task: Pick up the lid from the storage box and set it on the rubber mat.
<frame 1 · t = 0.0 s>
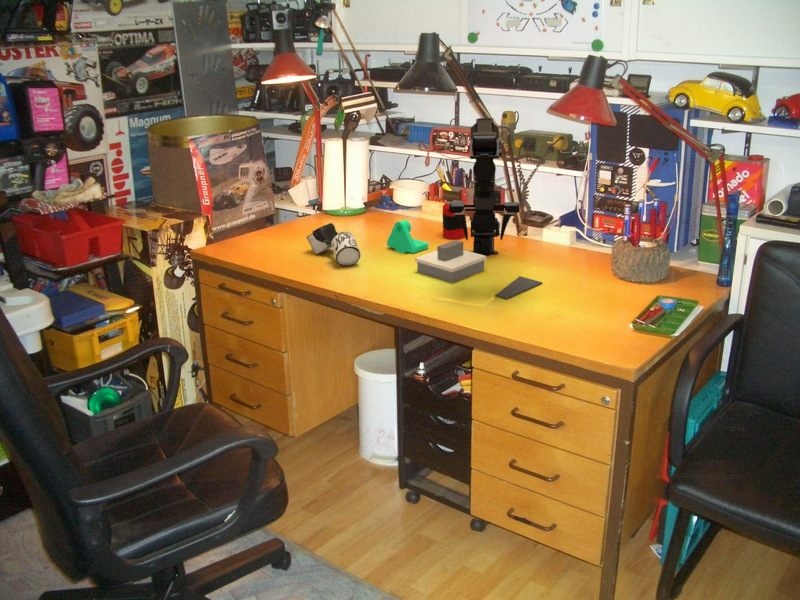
hand: (484, 240, 213), 15 cm above the table, tool pointing down, fingers open, 9 cm apart
camera mount: (408, 250, 258), on the table
walnut block: (450, 271, 235), point 1 cm above the table, touching storage box
lid: (450, 260, 234), point 4 cm above the table, touching storage box
storage box: (450, 272, 235), on the table
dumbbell: (335, 259, 252), on the table
soda can: (454, 237, 270), on the table
rubber mat: (502, 285, 224), on the table
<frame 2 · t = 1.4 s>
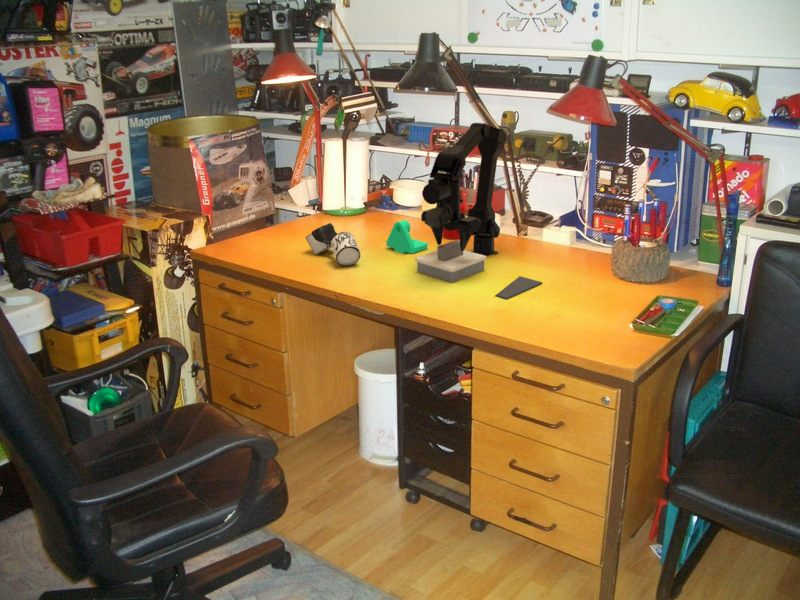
hand: (450, 247, 233), 8 cm above the table, tool pointing down, fingers open, 9 cm apart
nothing on the table moved.
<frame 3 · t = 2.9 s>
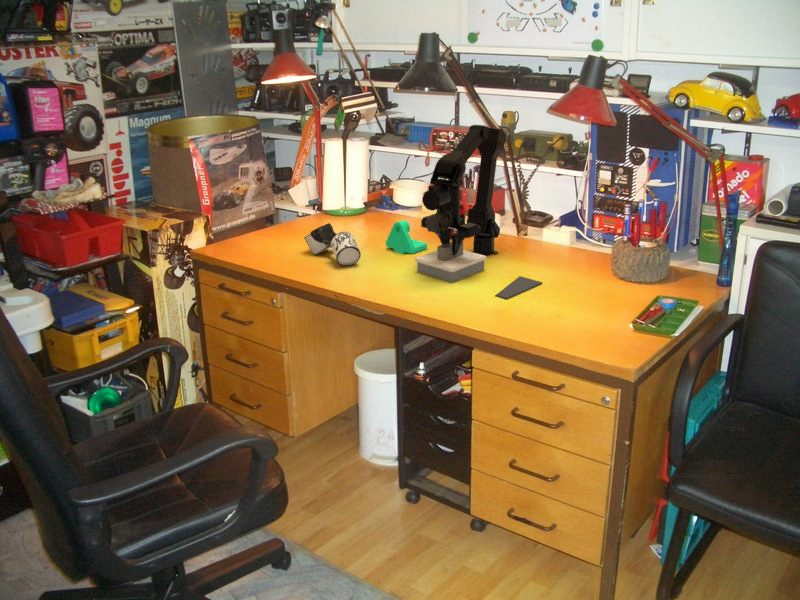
hand: (450, 253, 233), 6 cm above the table, tool pointing down, fingers closed on lid, 3 cm apart
lid: (450, 260, 234), point 4 cm above the table, touching gripper, storage box
everything else where it was.
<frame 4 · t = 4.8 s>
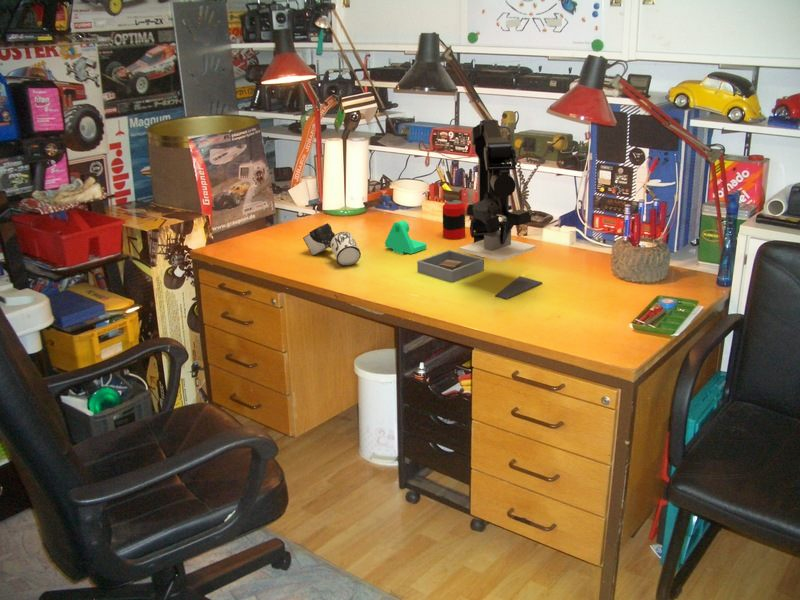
hand: (497, 243, 221), 12 cm above the table, tool pointing down, fingers closed on lid, 3 cm apart
lid: (497, 250, 221), point 10 cm above the table, touching gripper
everything else where it was.
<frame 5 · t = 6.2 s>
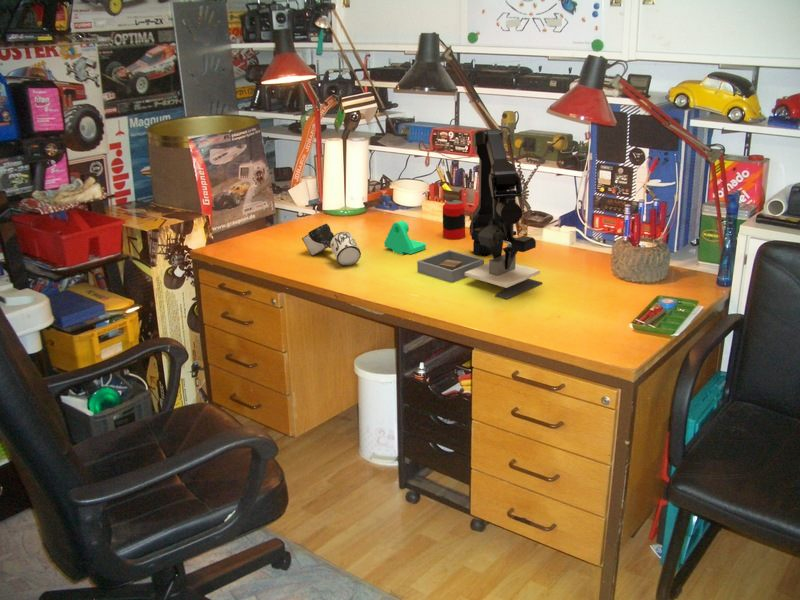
hand: (502, 267, 223), 5 cm above the table, tool pointing down, fingers closed on lid, 3 cm apart
lid: (502, 274, 223), point 3 cm above the table, touching gripper
when the fingers open (4 cm above the table, at t = 7.1 s): lid drops 1 cm, resting on rubber mat.
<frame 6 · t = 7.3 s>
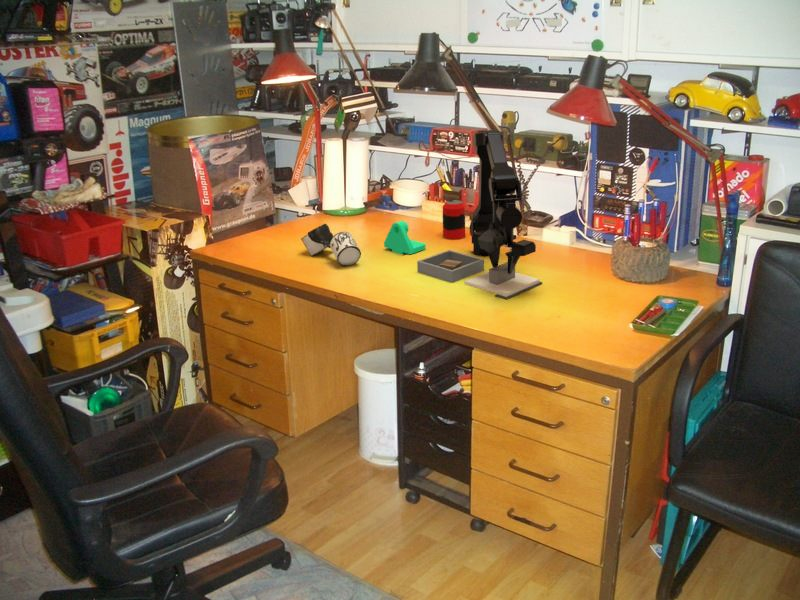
hand: (502, 271, 223), 4 cm above the table, tool pointing down, fingers open, 5 cm apart
lid: (502, 283, 224), resting on rubber mat
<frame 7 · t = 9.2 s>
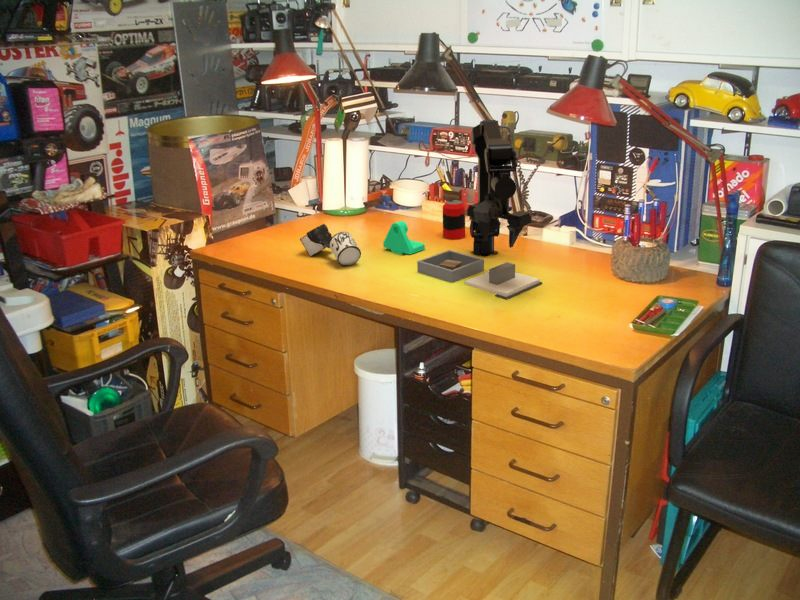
hand: (498, 243, 222), 12 cm above the table, tool pointing down, fingers open, 9 cm apart
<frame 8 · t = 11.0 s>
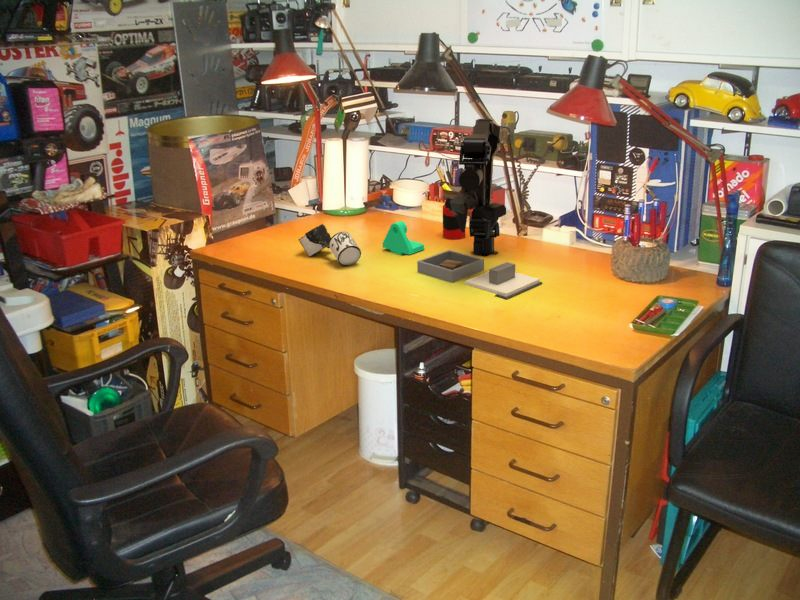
hand: (474, 235, 229), 12 cm above the table, tool pointing down, fingers open, 9 cm apart
at the end: lid inside the target area on the rubber mat (0.1 cm from its centre), point 0.5 cm above the rubber mat's base; lid tilted 0°; lid touching rubber mat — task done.
